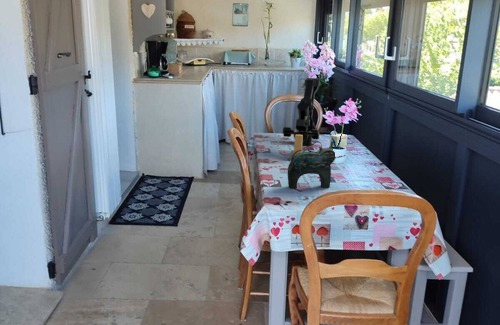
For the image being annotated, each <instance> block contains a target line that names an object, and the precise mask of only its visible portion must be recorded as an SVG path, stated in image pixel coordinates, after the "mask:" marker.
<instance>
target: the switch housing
mask: <svg viewBox="0 0 500 325" xmlns="http://www.w3.org/2000/svg"><path fill="white" fill-rule="evenodd" d="M303 149H307V147H306V148H303ZM307 150H308V149H307ZM307 150H302V152H308V151H307ZM293 154H294V149H293V150H291V151H290V152H289V154H288V155H287V157H286V161H290V162H291V160H292V156H293ZM294 156H295V155H294ZM294 156H293V157H294Z"/></svg>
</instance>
